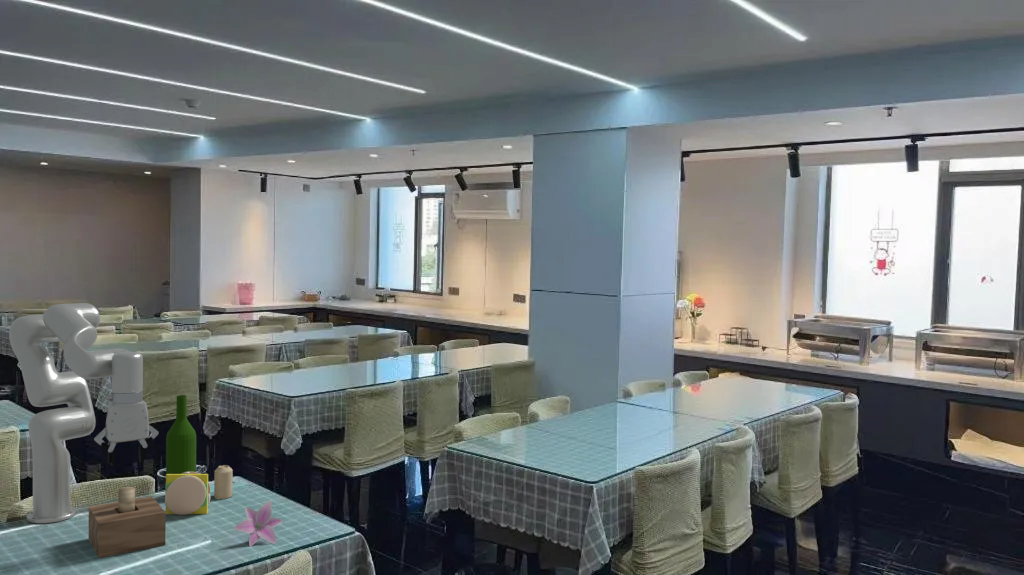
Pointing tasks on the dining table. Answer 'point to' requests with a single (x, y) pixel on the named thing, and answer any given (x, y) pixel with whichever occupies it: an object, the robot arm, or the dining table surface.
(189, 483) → the hamburger
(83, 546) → the dining table surface
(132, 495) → the maple peg
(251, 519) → the lily
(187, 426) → the wine bottle
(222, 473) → the candle
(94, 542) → the socket block
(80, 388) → the robot arm
